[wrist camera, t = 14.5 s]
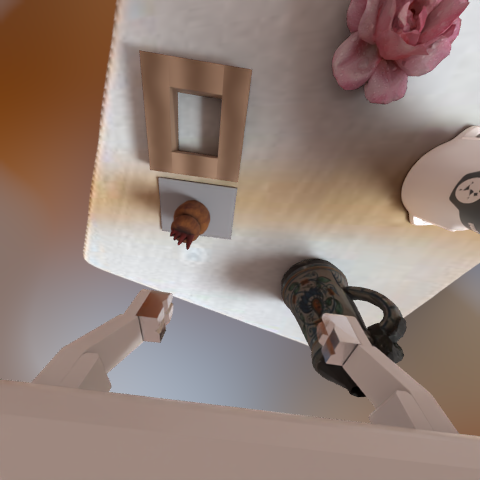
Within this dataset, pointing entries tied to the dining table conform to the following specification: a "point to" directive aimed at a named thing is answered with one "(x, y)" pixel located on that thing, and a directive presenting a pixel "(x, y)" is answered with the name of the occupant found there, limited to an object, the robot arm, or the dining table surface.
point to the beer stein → (341, 303)
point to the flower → (394, 44)
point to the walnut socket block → (166, 113)
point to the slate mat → (211, 196)
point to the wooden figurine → (189, 222)
